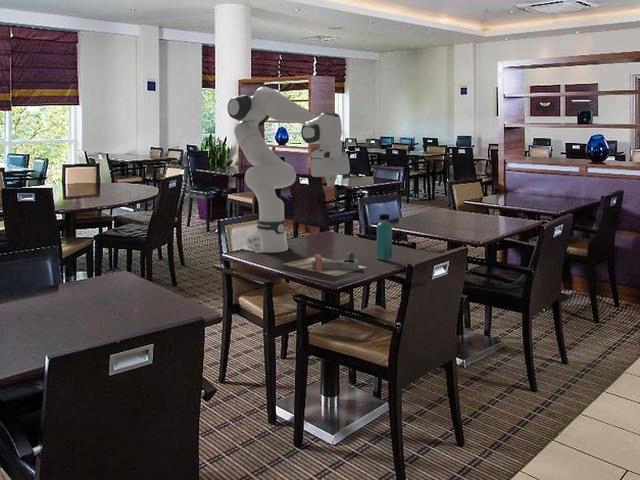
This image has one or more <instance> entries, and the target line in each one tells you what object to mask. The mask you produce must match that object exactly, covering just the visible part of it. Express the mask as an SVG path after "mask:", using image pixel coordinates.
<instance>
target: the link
mask: <svg viewBox="0 0 640 480" xmlns="http://www.w3.org/2000/svg"><path fill="white" fill-rule="evenodd" d="M359 266H360V265H359V260H358V258H354V262H349V258H348V259H347V258H342V259H341V258H340V259H339V260H338V259H337V260H336V259H335V260H333V259H329V260H322V270H341V271H352V272H356V271H360V270H359ZM312 270H316V261H312Z"/></svg>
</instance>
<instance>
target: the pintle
mask: <svg viewBox="0 0 640 480" xmlns="http://www.w3.org/2000/svg"><path fill="white" fill-rule="evenodd" d="M354 257H355V253H354V252H348V259H349V262H354V259H355V258H354Z"/></svg>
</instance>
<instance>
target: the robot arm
mask: <svg viewBox="0 0 640 480" xmlns="http://www.w3.org/2000/svg"><path fill="white" fill-rule="evenodd" d="M227 113H228V115H229V117H231V118H232V119H234V120H237V121H238V123H237V124H236V125H235V126H234V129H233V132H234V133H233V134H234V136H235V139H236V143H238V145H239V148H240V149H241V151H242V153H243V155H244V156H245V158H246V160H247V162H248V163H249V164H251V165H253V166H251V167H249V168H247V170H246V172H245V175H244V182H245V184H246V186H247V187H248V188H249V189H250V190H251V191H252V192H253V193H254V195H255V197H256V200H257V202H258V214H259V215H258V216H259V219H258V220H257V221H256V220H255V225H256V228H255V229H254V230H253V231H252V232H251V233H250V234H248V235H247V237H246V245H244V246H241V250H244V251H251V252H253V253H254V252H255V253H256V254H257V253H260V254H261V253H281V252H286V251H288V249H289V246H288V240H287V232H286V219H285V203H284V201H283V200H282V199H281V198H280V197H278V196H277V194H276V189H283V188H287V187H290V186H292V185H293V184H295V182H296V180H297V172H296V170H295V167H294V166H293V165H291V164H289V163H287V162H285V161H284V160H282V159H281V158H280V157H278V156H277V154H275V153H274V151H272V150H271V148H270V147H269V145H268V144H267V142H266V141H265V139H264V137H263V136H262V133H260V130H259V127H263V126H264V125H265V123H266V122H267V121H268V120H269V119H270V118H271V119H273V120H274V121H277V122H281V123H295V124H296V123H297V124H300V125H302V126H301V129H300V134H301V138H302V140H303V142H305V143H306V144H310V145H319V148H317V149H316V150H313V151H312V152H311V153H310V157H311V160H310V175H311V176H312V177H313V178H321V177H324V179H325V182H326V187H328V188H332V187H335V186H336V180H338V179H337V178H338V176H342V175H349V174H350V173H351V172H350V171H351V168H350V159H349V154H348V153H347V152H346V151H343V152H342V150H343V145H342V140H341V138H342V133H343V132H342V131H343V129H342V128H343V127H342V118H341V116H340V115H339V114H338V113H336V112H332V111H331V112H329V111H323V112H322V113H320V115H318V114H316V113H314V112H312V111H311V110H309V109H307V108H305V107H303V106H301V105H299V104H298V103H296V102H295V101H293V100H291V99H290V98H289V97H287V96H285V95H284V94H282V93H281V92H279V91H277V90H275V89H273V88H270V87H268V86H260V87H259V88H257V89H256V90H255V92H254V94H253V95H252V96H249V95H247V94H244V95H243V94H242V95H237V96H232V97H231V98H230V99H229V101H228V104H227Z"/></svg>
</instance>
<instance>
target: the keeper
mask: <svg viewBox="0 0 640 480" xmlns="http://www.w3.org/2000/svg"><path fill="white" fill-rule="evenodd" d="M313 257H314V258H315V260H316V271H322V258H323V256H322V255H321V253H314V254H313Z"/></svg>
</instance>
